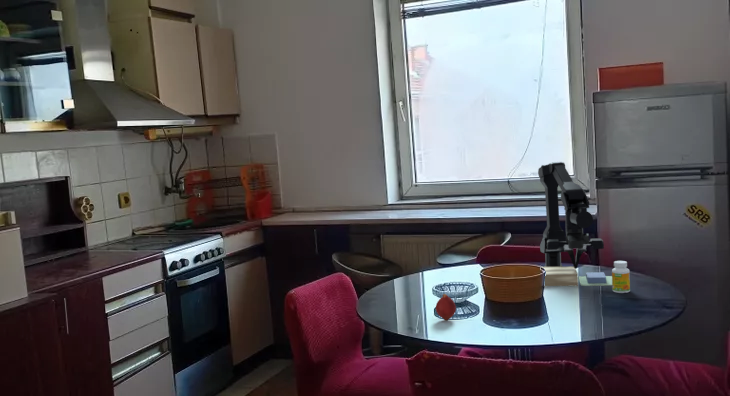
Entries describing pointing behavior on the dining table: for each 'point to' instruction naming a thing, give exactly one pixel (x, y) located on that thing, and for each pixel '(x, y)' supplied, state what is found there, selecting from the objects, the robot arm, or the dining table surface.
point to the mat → (584, 283)
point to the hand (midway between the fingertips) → (575, 268)
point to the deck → (561, 276)
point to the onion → (445, 307)
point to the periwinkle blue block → (595, 277)
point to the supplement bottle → (620, 277)
